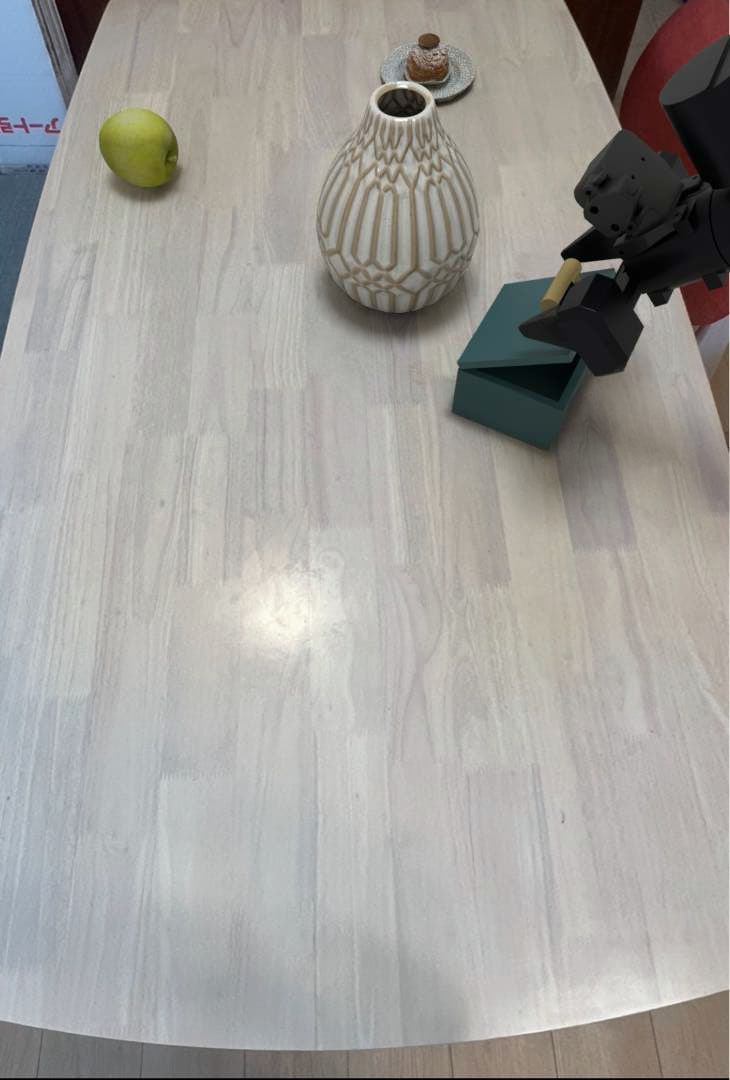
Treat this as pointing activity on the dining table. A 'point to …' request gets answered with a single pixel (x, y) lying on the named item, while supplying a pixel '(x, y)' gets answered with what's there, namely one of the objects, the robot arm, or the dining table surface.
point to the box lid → (513, 306)
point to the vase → (398, 205)
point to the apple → (139, 147)
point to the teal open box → (520, 398)
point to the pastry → (430, 67)
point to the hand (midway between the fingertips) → (543, 293)
